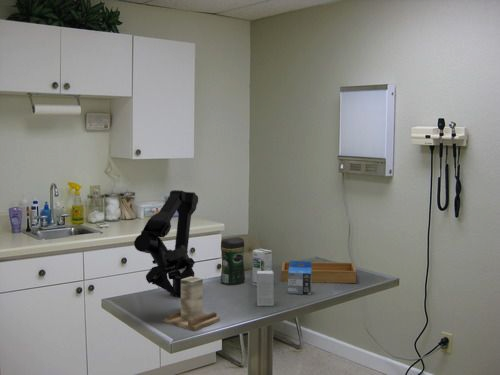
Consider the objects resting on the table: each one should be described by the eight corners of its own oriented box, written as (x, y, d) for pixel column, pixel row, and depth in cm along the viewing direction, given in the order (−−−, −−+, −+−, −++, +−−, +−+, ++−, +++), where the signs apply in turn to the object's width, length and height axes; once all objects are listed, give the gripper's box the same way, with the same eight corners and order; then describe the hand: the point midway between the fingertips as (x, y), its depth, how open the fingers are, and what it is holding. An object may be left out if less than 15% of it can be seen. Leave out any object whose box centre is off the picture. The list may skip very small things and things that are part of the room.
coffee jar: (236, 278, 246) (236, 235, 244) (247, 282, 239) (248, 238, 237) (217, 282, 240) (217, 237, 238) (228, 286, 233) (228, 240, 232)
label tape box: (287, 294, 223) (287, 262, 222) (288, 291, 227) (289, 260, 226) (310, 295, 222) (311, 263, 221) (311, 292, 226) (311, 261, 225)
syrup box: (251, 285, 235) (252, 250, 234) (261, 282, 239) (261, 247, 238) (262, 288, 231) (262, 252, 230) (272, 285, 236) (272, 249, 234)
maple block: (180, 318, 190) (180, 279, 189) (191, 314, 194) (191, 276, 193) (191, 321, 187) (191, 282, 186) (202, 317, 191) (202, 278, 190)
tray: (281, 282, 241) (281, 269, 241) (282, 273, 256) (282, 260, 256) (356, 285, 238) (356, 271, 238) (353, 275, 253) (353, 262, 253)
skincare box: (273, 302, 212) (273, 270, 211) (273, 306, 208) (274, 273, 207) (256, 302, 212) (256, 270, 211) (256, 306, 208) (257, 273, 206)
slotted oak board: (163, 321, 190) (163, 314, 190) (188, 312, 200) (188, 305, 200) (195, 331, 182) (195, 323, 182) (219, 321, 192) (219, 313, 191)
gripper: (151, 243, 186) (176, 282, 181) (190, 234, 201) (215, 270, 196) (134, 263, 192) (159, 302, 186) (174, 254, 207) (197, 289, 201)
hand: (183, 290), depth 192 cm, fingers open, 9 cm apart
